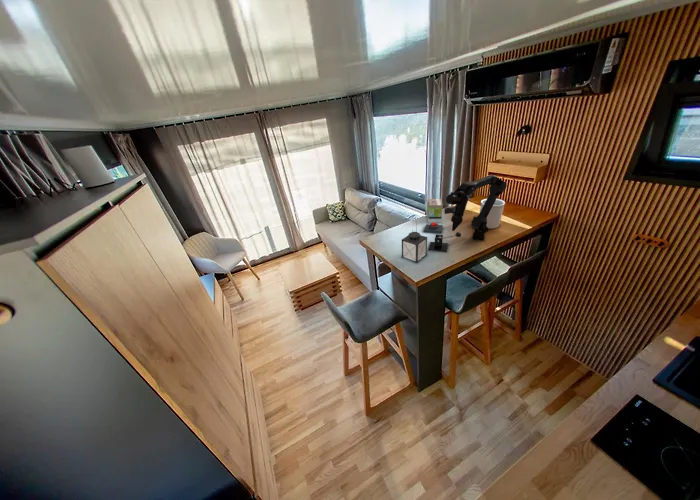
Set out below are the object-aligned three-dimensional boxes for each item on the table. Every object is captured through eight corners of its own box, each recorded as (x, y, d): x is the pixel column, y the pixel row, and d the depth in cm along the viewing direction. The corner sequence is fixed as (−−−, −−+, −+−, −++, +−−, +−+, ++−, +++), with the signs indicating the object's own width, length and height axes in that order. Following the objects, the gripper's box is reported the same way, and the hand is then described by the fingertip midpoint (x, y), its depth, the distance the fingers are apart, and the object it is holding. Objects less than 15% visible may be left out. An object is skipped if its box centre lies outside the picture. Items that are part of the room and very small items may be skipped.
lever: (461, 235, 156) (460, 230, 155) (461, 237, 154) (460, 232, 152) (437, 240, 164) (436, 236, 163) (437, 242, 162) (435, 238, 161)
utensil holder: (485, 218, 192) (488, 196, 184) (504, 224, 181) (509, 201, 172) (473, 224, 186) (476, 202, 177) (492, 230, 175) (497, 207, 166)
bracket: (447, 244, 167) (448, 233, 162) (446, 252, 159) (447, 240, 155) (430, 243, 171) (431, 232, 167) (428, 250, 163) (428, 239, 159)
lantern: (416, 263, 152) (417, 221, 138) (401, 257, 160) (401, 217, 146) (426, 255, 159) (428, 214, 144) (411, 250, 166) (412, 210, 152)
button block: (442, 227, 188) (442, 222, 186) (441, 233, 180) (441, 228, 178) (426, 226, 193) (426, 221, 191) (424, 232, 185) (424, 227, 183)
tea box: (441, 222, 195) (442, 204, 188) (428, 223, 198) (428, 205, 190) (439, 215, 208) (440, 197, 200) (426, 215, 210) (427, 198, 203)
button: (436, 224, 185) (436, 222, 184) (435, 226, 183) (436, 224, 182) (431, 224, 187) (431, 222, 186) (430, 226, 184) (430, 224, 183)
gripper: (448, 199, 160) (441, 222, 167) (446, 204, 144) (438, 229, 151) (466, 203, 157) (458, 226, 163) (466, 208, 141) (457, 234, 147)
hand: (453, 228), depth 156 cm, fingers open, 9 cm apart
